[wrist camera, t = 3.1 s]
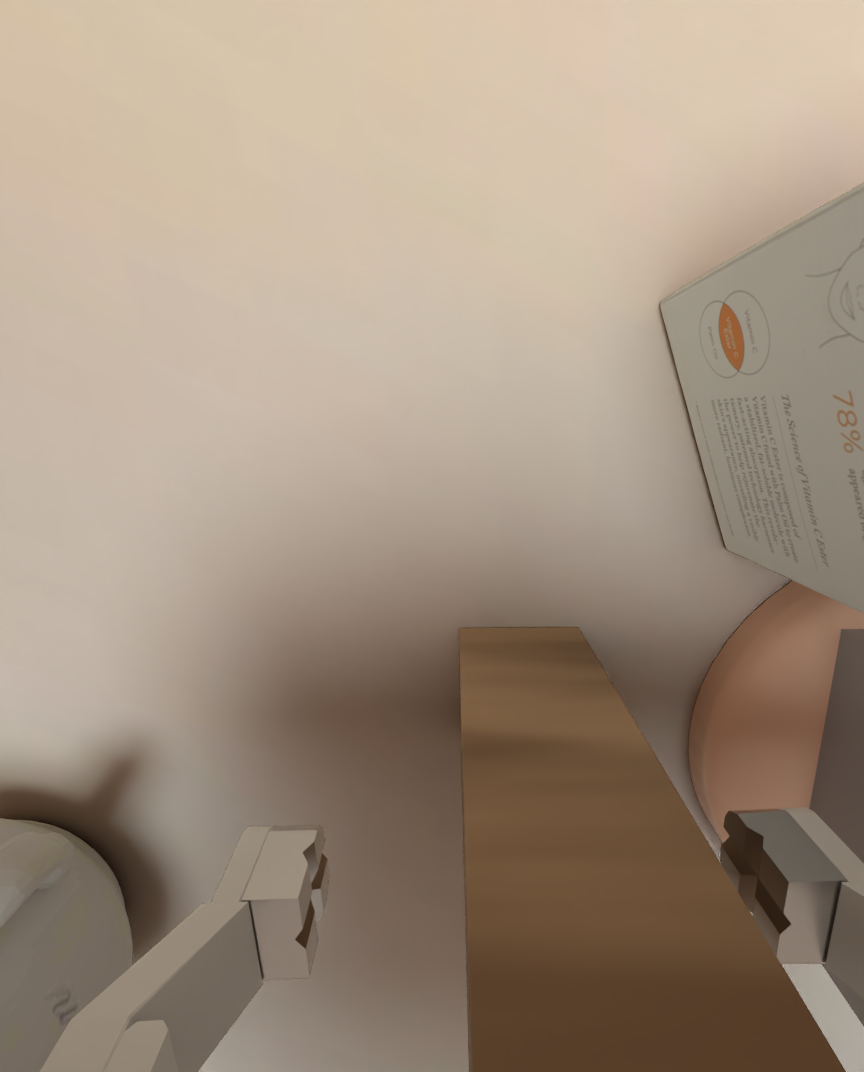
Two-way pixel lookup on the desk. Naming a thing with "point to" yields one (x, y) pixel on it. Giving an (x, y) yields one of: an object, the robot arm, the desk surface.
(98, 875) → the teacup
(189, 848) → the desk surface
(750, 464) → the small box
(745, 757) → the round base with bracket
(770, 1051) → the wood grain beam
